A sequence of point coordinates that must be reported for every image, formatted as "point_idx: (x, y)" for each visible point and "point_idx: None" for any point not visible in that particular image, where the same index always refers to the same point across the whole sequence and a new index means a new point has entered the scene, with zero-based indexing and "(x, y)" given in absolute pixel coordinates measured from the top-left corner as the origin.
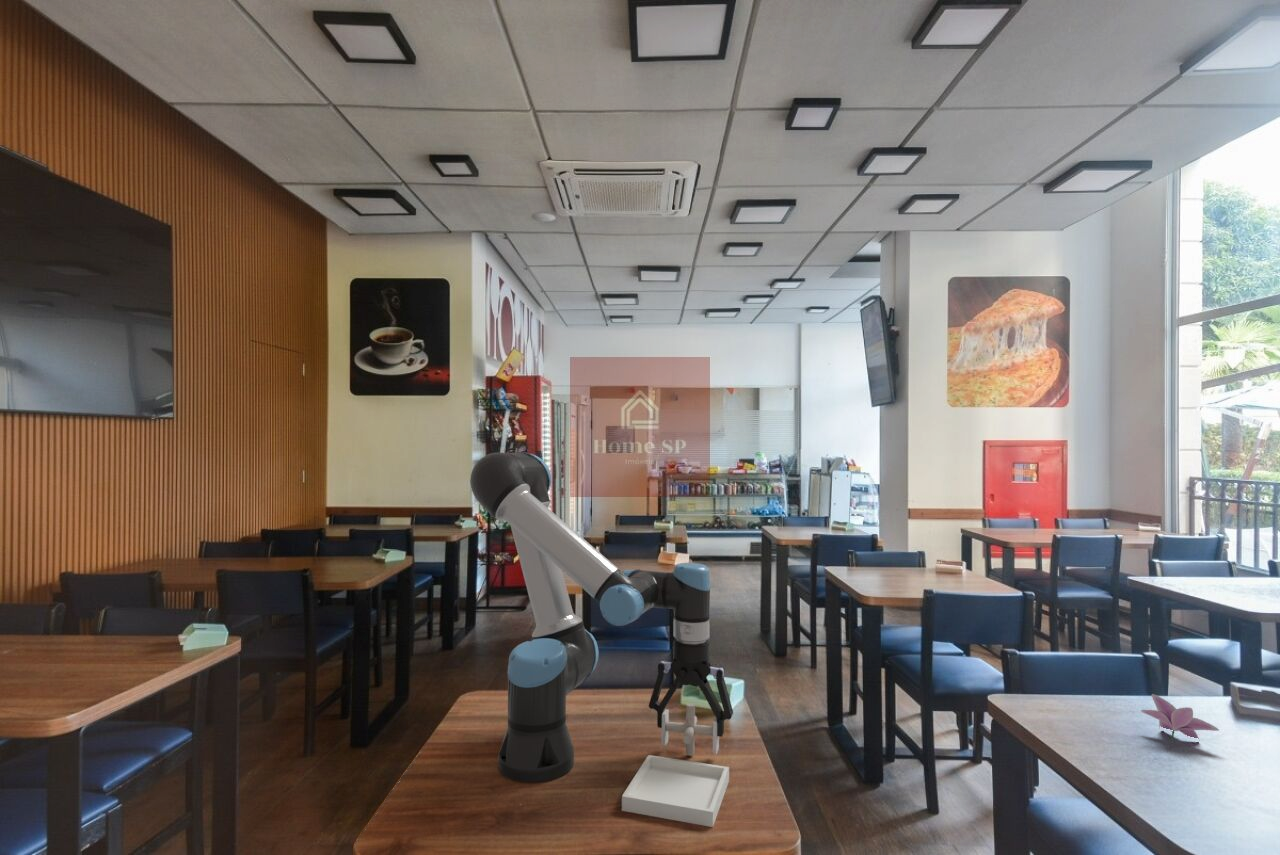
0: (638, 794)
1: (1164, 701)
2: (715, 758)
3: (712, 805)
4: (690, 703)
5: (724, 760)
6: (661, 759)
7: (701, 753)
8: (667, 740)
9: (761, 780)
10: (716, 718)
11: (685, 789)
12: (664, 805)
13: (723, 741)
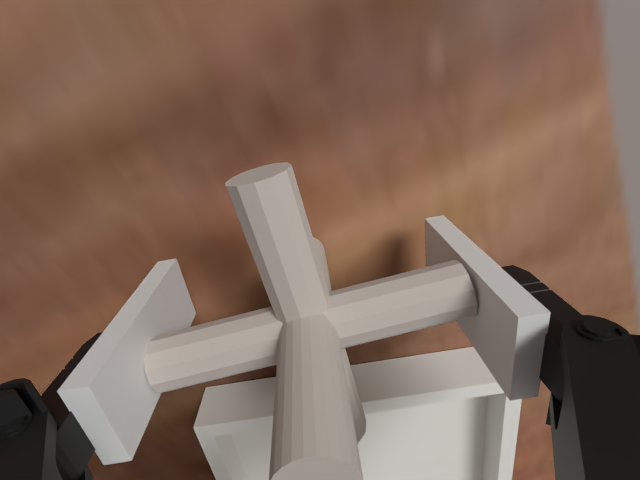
0: None
1: None
2: (416, 217)
3: None
4: (302, 467)
5: (458, 216)
6: (256, 428)
7: (342, 202)
8: (178, 277)
9: (612, 295)
10: (551, 414)
11: (385, 461)
12: None
13: (413, 2)
